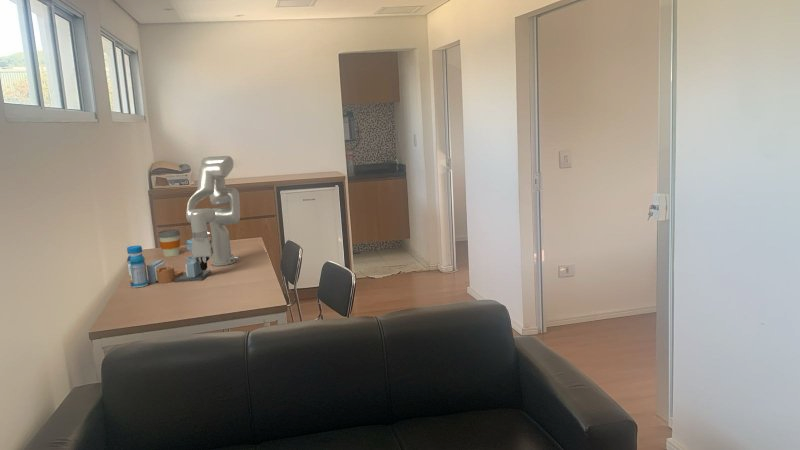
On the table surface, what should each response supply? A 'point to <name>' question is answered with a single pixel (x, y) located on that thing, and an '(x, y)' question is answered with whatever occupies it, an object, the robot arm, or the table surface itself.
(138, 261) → the beverage bottle
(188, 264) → the block
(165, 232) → the reusable coffee cup
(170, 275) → the bracket
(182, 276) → the plate
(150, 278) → the block
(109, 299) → the table surface
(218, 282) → the table surface
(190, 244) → the small desk lamp
